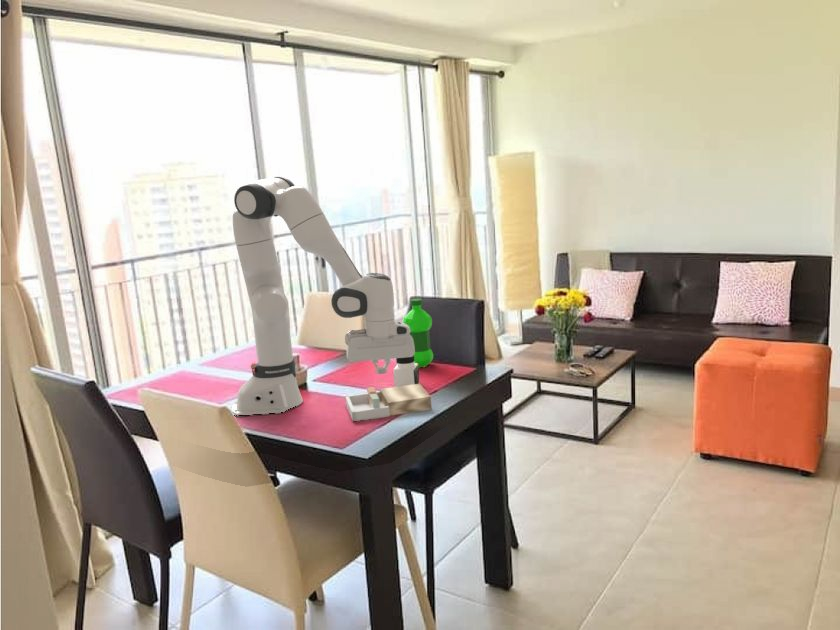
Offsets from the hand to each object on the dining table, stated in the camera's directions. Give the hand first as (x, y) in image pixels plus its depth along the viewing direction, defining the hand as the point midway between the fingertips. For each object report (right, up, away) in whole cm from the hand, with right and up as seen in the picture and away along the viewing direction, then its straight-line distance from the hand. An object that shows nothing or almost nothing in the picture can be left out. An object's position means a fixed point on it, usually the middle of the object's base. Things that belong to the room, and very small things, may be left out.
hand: (381, 373), depth 199 cm
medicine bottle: (+7, -7, +25) cm, 27 cm away
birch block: (+7, -10, +7) cm, 14 cm away
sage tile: (-1, -9, +1) cm, 9 cm away
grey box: (-5, -12, +4) cm, 13 cm away
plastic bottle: (+12, -2, +48) cm, 50 cm away
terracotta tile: (-2, -8, +8) cm, 12 cm away
